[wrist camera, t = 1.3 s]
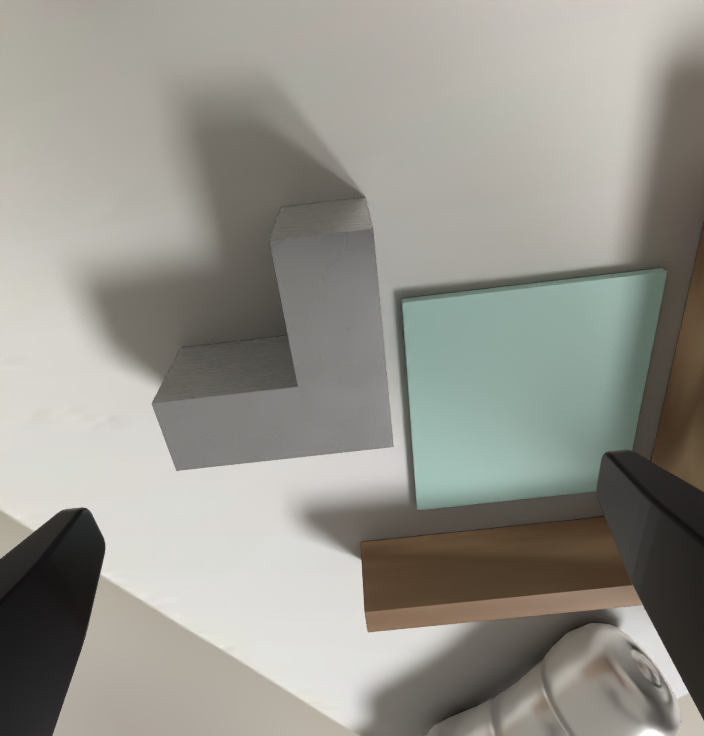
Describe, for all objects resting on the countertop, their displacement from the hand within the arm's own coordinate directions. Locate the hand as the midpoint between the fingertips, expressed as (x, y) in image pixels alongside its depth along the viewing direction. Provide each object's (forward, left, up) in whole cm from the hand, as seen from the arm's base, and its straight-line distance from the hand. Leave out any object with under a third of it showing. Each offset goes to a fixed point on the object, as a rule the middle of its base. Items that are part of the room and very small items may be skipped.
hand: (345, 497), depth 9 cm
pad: (-7, -7, -12) cm, 16 cm away
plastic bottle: (-23, -14, -9) cm, 28 cm away
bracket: (-2, +3, -12) cm, 13 cm away
